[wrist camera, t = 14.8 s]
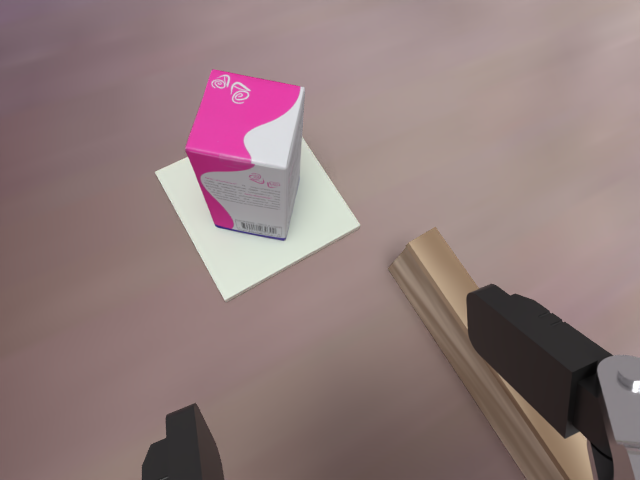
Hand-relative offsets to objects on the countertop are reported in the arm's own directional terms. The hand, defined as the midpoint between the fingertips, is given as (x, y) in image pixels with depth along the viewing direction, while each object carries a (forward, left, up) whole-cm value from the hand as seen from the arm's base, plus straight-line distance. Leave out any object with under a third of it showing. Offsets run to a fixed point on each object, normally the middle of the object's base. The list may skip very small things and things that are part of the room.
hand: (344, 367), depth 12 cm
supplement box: (+4, +14, -20) cm, 25 cm away
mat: (+4, +14, -21) cm, 26 cm away
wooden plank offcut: (+11, -6, -21) cm, 24 cm away
